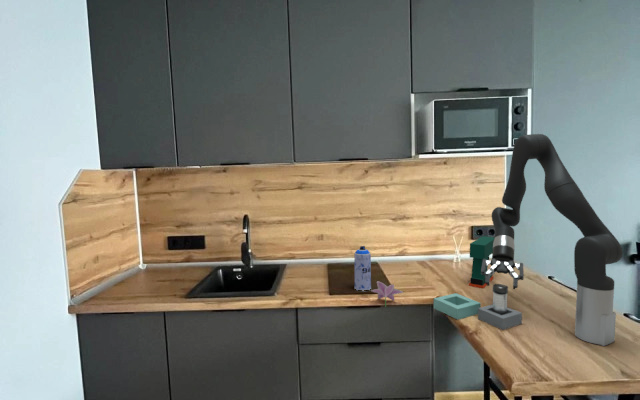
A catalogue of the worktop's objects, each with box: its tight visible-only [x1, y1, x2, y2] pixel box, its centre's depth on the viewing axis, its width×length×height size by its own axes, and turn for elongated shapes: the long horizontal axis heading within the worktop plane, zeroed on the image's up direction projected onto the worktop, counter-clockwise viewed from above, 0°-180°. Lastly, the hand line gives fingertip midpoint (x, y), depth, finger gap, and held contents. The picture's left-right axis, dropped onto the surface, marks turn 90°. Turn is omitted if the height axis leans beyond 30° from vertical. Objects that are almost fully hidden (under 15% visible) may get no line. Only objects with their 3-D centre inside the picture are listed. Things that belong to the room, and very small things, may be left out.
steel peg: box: [492, 283, 509, 315], centre depth 124 cm, size 5×5×13 cm
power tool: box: [468, 235, 495, 289], centre depth 172 cm, size 32×7×20 cm, turn 141°
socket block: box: [477, 303, 523, 331], centre depth 124 cm, size 10×10×4 cm
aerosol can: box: [354, 245, 372, 292], centre depth 161 cm, size 8×8×20 cm
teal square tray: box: [433, 292, 482, 320], centre depth 134 cm, size 12×12×4 cm
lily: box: [370, 280, 404, 307], centre depth 143 cm, size 12×12×10 cm
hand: (500, 286), depth 128 cm, fingers open, 8 cm apart
